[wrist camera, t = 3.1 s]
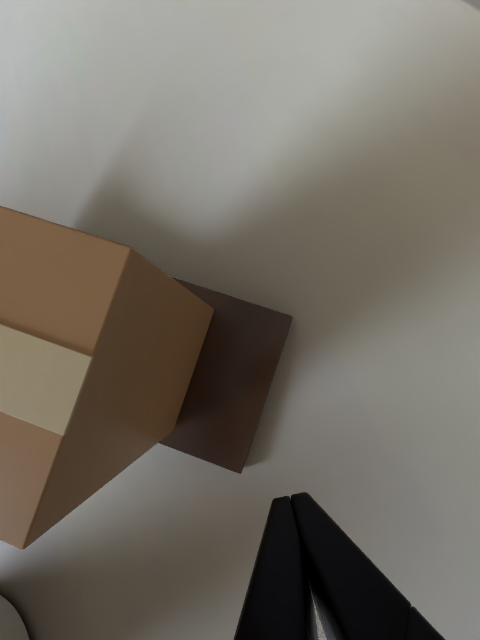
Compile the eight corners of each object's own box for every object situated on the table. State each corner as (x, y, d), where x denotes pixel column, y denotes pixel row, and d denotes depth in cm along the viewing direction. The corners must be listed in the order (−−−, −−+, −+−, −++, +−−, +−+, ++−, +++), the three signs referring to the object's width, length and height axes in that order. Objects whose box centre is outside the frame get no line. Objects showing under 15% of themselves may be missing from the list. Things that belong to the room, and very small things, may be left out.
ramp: (295, 319, 21) (274, 296, 15) (245, 469, 20) (205, 506, 15) (49, 245, 27) (-32, 209, 21) (7, 360, 26) (-89, 355, 21)
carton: (257, 320, 19) (96, 218, 7) (214, 449, 19) (-39, 586, 6) (129, 281, 22) (-152, 155, 10) (89, 393, 22) (-258, 414, 9)
